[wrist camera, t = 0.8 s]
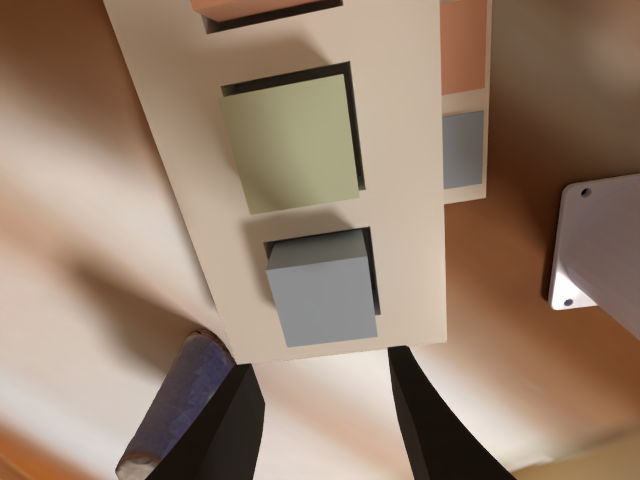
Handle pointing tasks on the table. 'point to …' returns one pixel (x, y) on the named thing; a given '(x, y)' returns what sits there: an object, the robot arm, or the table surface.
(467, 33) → the tile
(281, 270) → the slate key
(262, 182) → the sage key
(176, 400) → the flask
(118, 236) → the table surface
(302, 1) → the terracotta key
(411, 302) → the keypad base
